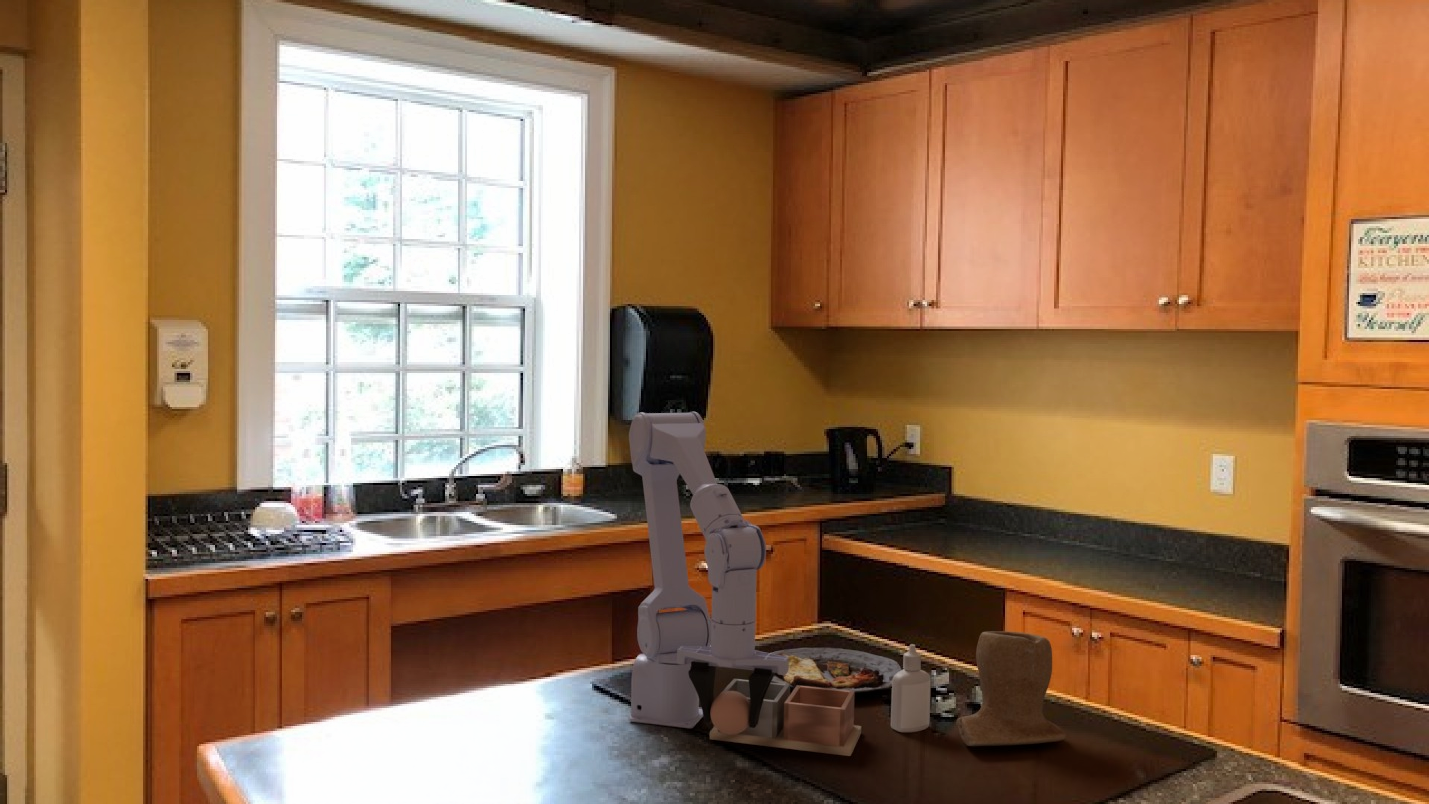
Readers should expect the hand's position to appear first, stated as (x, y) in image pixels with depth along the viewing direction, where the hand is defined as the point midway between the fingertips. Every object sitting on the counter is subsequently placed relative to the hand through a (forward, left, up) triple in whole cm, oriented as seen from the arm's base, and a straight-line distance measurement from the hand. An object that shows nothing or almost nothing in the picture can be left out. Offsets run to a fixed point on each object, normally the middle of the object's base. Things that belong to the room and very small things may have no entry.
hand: (731, 722), depth 149 cm
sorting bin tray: (+5, +11, -5) cm, 13 cm away
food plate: (+6, +39, -5) cm, 40 cm away
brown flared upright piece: (+34, +20, -5) cm, 40 cm away
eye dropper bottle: (+21, +20, -5) cm, 29 cm away
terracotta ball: (0, 0, +1) cm, 1 cm away
